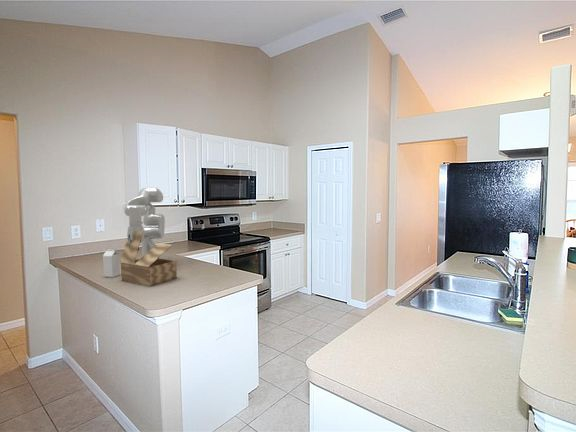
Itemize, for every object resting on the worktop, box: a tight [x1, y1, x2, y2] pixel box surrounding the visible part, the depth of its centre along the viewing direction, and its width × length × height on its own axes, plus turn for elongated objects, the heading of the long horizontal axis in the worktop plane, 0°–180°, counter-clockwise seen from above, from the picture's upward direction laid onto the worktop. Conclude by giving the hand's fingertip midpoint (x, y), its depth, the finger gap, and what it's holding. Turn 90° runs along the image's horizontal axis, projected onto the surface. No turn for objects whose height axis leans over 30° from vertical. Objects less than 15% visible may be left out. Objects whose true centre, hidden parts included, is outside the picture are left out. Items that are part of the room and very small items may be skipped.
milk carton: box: [102, 248, 121, 278], centre depth 224 cm, size 7×7×19 cm
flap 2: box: [134, 242, 173, 267], centre depth 210 cm, size 22×14×1 cm
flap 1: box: [120, 231, 143, 265], centre depth 212 cm, size 22×14×1 cm
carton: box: [120, 257, 178, 287], centre depth 216 cm, size 22×28×12 cm
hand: (136, 250), depth 217 cm, fingers closed
